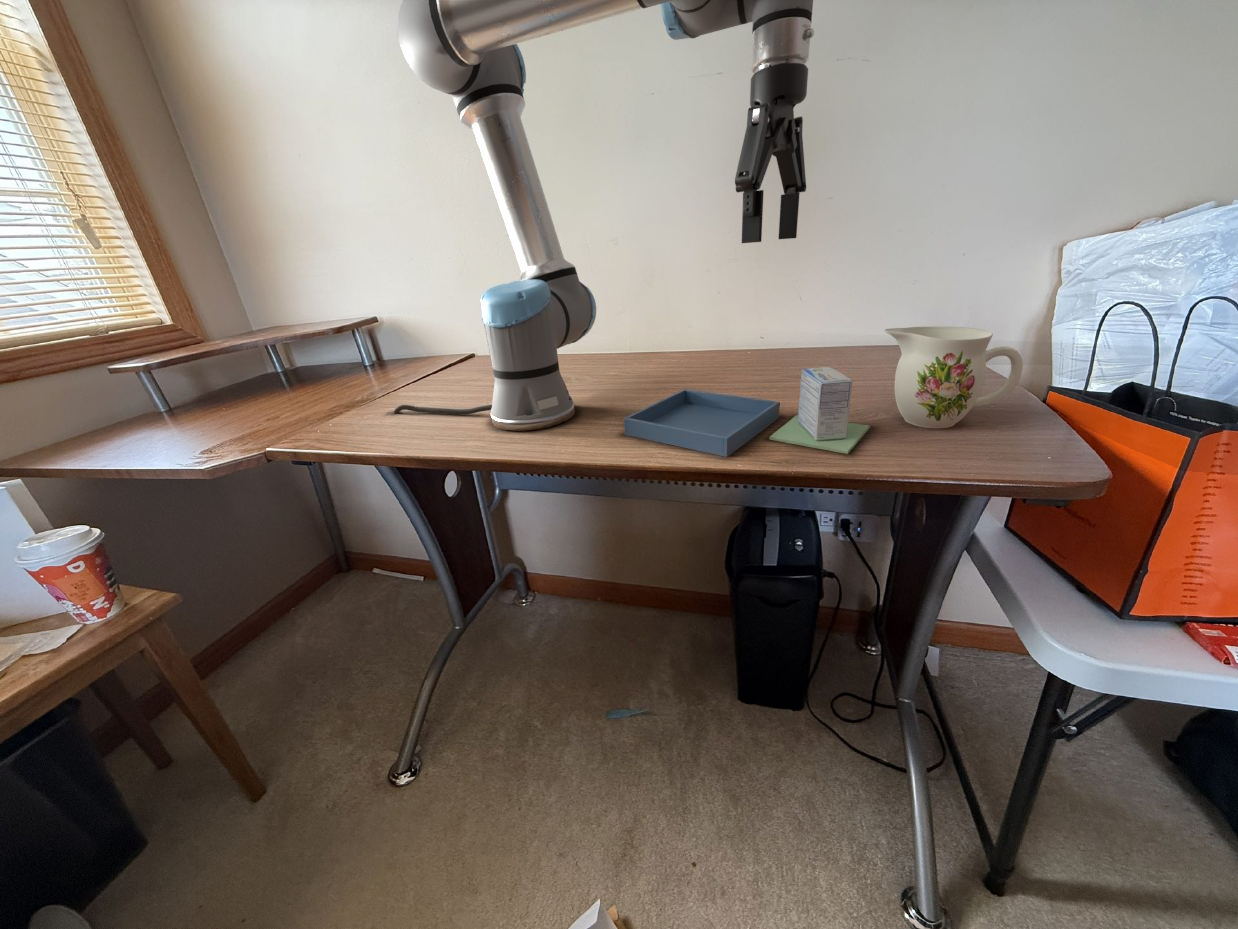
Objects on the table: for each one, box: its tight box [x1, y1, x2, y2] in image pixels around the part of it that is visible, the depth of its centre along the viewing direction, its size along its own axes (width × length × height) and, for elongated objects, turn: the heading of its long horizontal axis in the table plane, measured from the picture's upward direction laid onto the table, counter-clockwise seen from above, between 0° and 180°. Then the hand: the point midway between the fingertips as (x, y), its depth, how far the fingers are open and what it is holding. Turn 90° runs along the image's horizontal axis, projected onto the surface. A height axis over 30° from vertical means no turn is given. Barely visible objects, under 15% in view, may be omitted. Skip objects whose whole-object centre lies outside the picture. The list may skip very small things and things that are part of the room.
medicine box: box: [797, 366, 853, 440], centre depth 69 cm, size 8×4×9 cm, turn 179°
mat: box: [768, 414, 871, 455], centre depth 71 cm, size 11×11×1 cm
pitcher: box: [884, 326, 1024, 429], centre depth 69 cm, size 11×18×14 cm, turn 74°
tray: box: [623, 388, 781, 458], centre depth 77 cm, size 18×18×3 cm
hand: (770, 240), depth 74 cm, fingers open, 13 cm apart
